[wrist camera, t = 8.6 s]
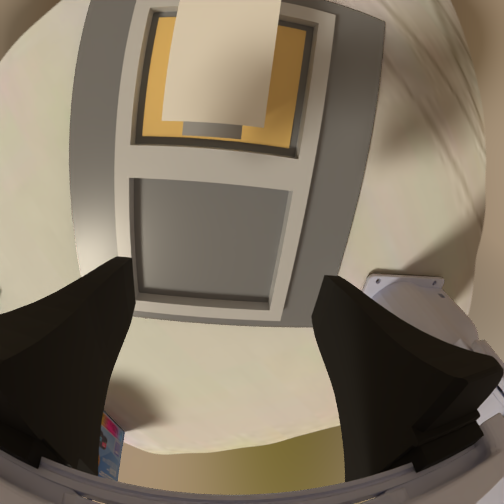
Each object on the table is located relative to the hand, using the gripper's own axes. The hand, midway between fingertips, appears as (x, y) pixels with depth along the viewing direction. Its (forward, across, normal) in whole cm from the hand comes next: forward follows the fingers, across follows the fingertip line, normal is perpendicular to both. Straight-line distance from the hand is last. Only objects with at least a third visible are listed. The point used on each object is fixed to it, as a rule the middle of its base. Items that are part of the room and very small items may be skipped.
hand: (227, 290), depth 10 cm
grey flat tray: (+9, +1, -3) cm, 10 cm away
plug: (+9, +1, -9) cm, 12 cm away
